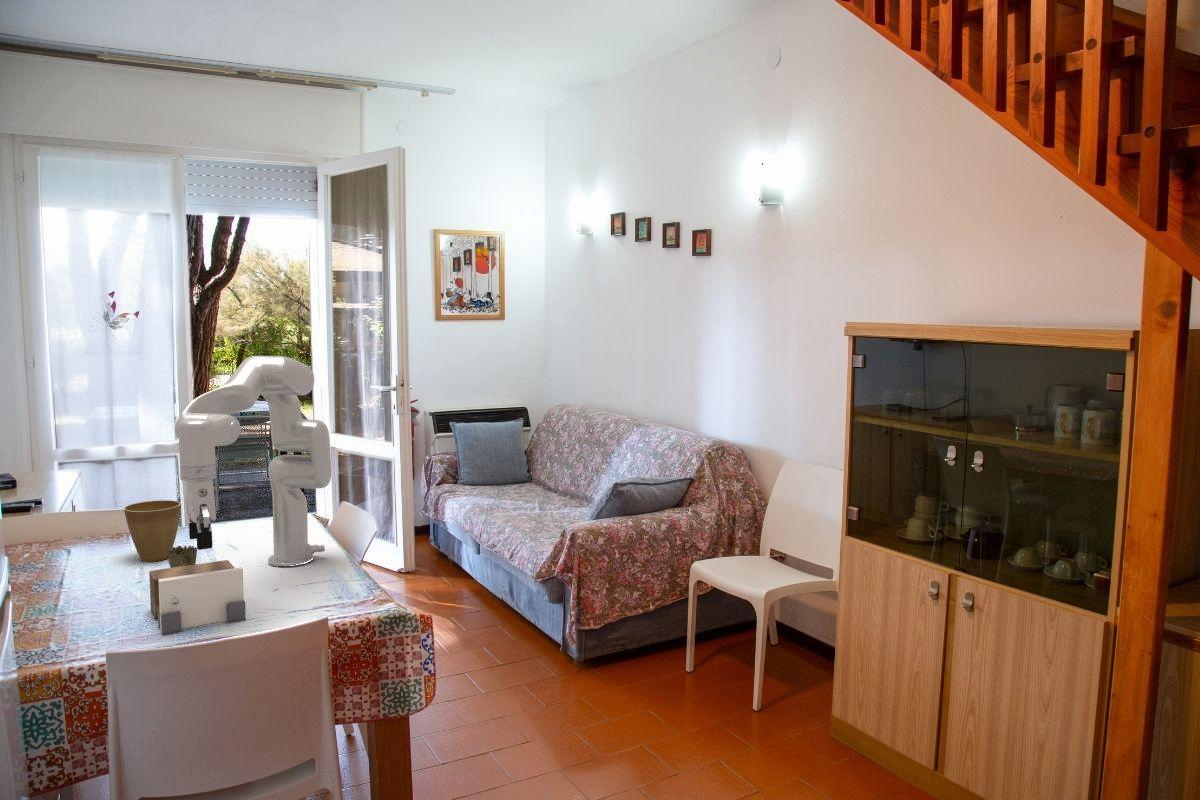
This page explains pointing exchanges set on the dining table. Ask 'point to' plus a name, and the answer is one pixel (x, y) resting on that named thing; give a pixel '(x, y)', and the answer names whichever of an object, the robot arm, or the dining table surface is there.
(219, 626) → the dining table surface
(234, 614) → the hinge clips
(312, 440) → the robot arm
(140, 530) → the plant pot
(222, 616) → the cabinet door
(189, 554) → the dark textured ornament
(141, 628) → the dining table surface
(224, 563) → the cabinet body
